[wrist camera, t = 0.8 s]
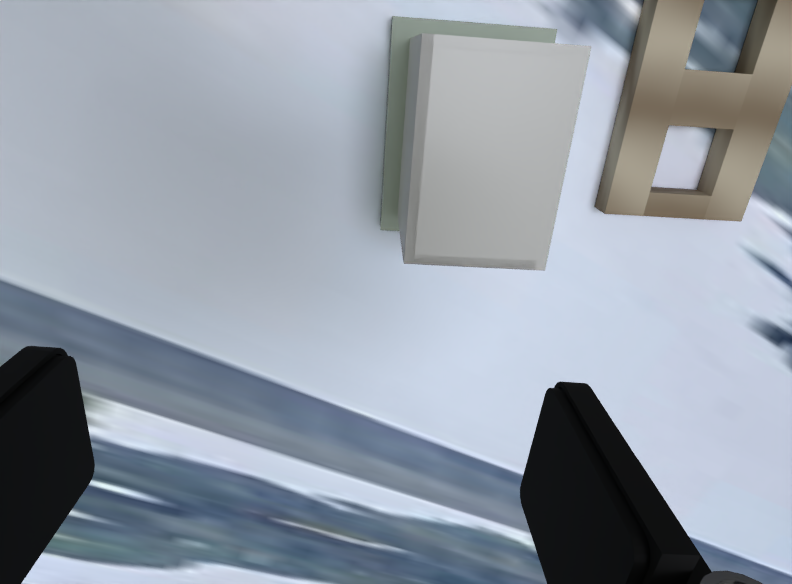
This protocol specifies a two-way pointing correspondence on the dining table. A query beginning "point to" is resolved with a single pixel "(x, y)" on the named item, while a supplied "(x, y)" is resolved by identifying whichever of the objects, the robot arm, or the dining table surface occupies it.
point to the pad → (398, 83)
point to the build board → (696, 112)
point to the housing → (486, 148)
